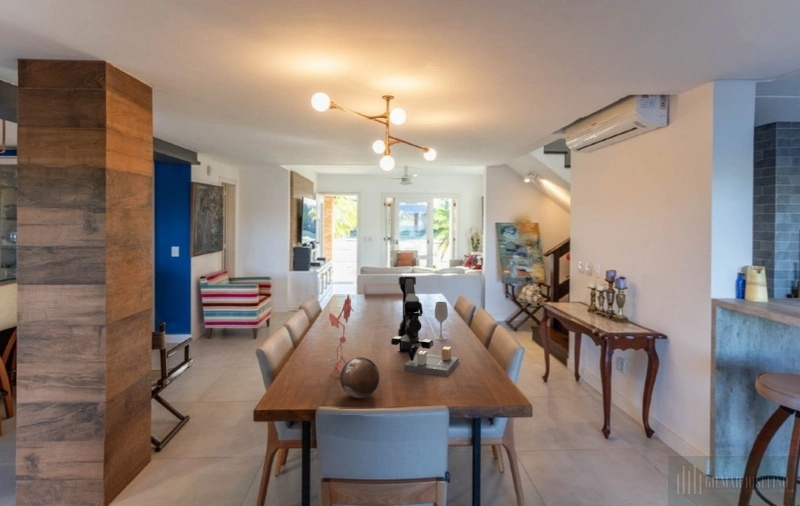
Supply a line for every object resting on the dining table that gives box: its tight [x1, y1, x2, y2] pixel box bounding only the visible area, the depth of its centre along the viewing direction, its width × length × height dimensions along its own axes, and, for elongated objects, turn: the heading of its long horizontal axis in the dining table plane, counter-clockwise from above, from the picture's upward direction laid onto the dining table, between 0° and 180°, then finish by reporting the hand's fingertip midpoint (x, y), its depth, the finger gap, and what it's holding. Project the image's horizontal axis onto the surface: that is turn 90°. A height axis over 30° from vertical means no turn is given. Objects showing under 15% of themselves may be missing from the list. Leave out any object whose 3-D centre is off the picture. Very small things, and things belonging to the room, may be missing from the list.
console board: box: [403, 353, 460, 377], centre depth 202 cm, size 20×20×3 cm
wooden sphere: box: [339, 356, 381, 399], centre depth 166 cm, size 15×15×15 cm
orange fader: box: [441, 345, 452, 360], centre depth 204 cm, size 3×5×5 cm, turn 158°
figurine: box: [327, 293, 355, 381], centre depth 192 cm, size 15×26×35 cm, turn 175°
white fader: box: [416, 350, 428, 365], centre depth 197 cm, size 3×5×5 cm, turn 158°
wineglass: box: [434, 301, 449, 341], centre depth 249 cm, size 8×8×21 cm
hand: (412, 360), depth 199 cm, fingers closed
